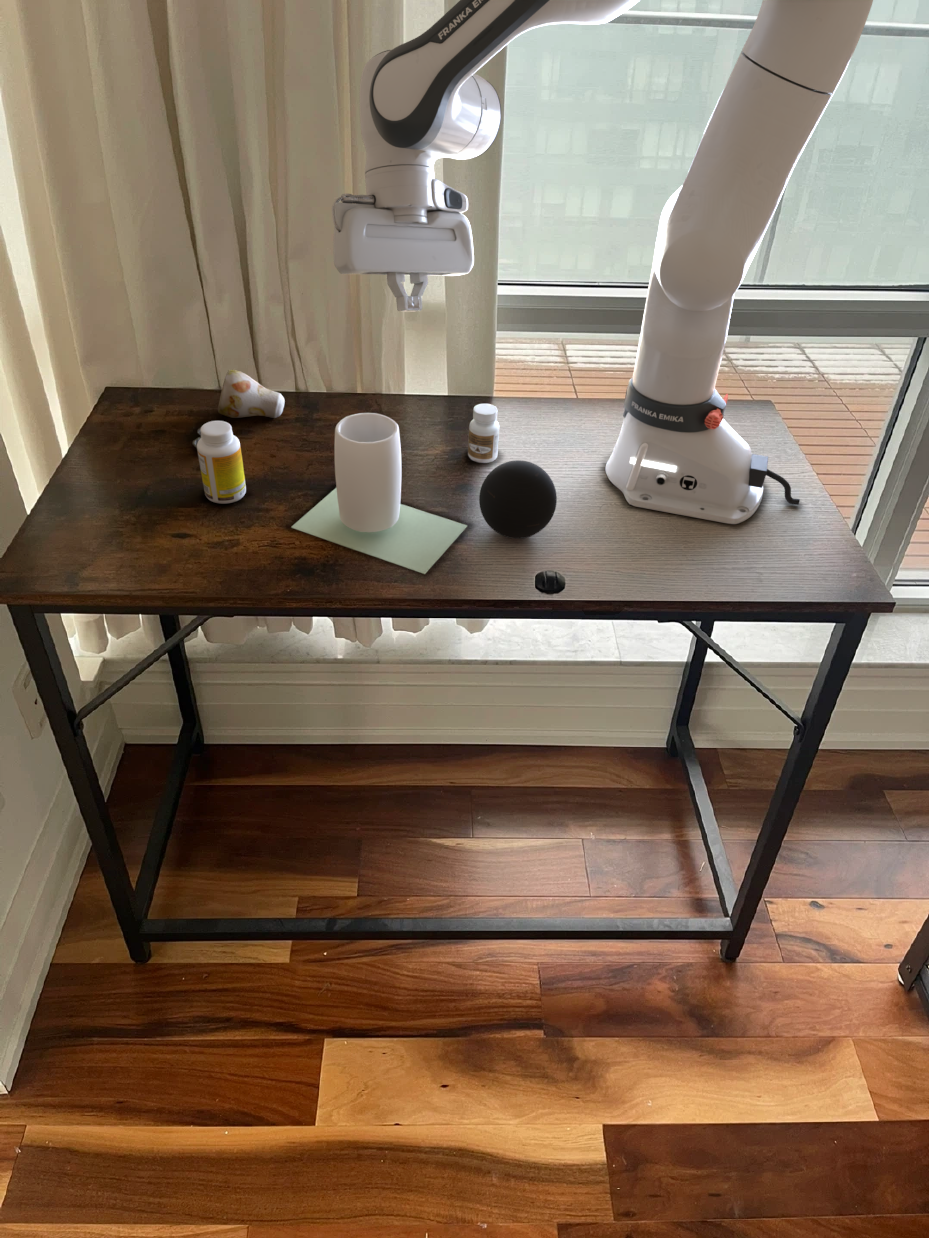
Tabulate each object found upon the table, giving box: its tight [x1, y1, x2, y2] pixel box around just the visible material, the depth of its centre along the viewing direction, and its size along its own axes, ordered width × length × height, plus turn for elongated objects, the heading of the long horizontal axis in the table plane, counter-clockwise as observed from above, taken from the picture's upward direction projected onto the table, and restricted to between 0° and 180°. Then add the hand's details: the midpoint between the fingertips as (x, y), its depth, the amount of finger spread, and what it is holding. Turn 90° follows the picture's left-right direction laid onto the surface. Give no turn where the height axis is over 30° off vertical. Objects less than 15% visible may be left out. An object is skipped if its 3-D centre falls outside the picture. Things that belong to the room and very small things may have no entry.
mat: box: [290, 487, 468, 575], centre depth 123 cm, size 20×12×1 cm, turn 63°
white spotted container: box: [217, 369, 286, 419], centre depth 142 cm, size 8×10×10 cm
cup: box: [333, 412, 402, 532], centre depth 119 cm, size 8×8×14 cm
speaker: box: [478, 459, 558, 539], centre depth 121 cm, size 10×10×10 cm
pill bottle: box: [467, 403, 500, 464], centre depth 136 cm, size 4×4×8 cm
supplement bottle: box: [196, 420, 247, 505], centre depth 124 cm, size 6×6×10 cm
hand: (410, 311), depth 123 cm, fingers closed
